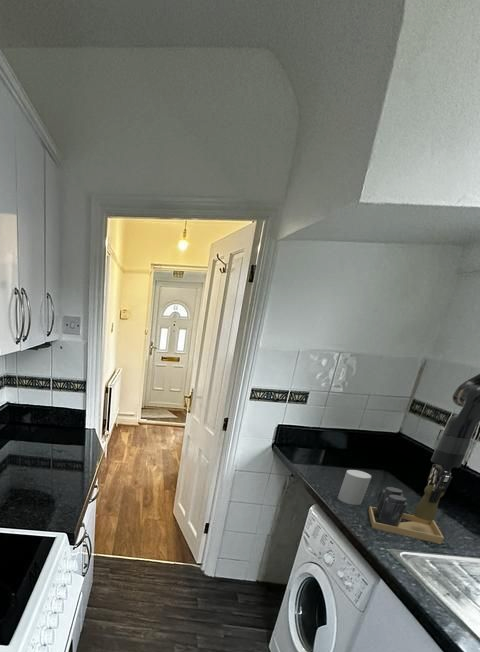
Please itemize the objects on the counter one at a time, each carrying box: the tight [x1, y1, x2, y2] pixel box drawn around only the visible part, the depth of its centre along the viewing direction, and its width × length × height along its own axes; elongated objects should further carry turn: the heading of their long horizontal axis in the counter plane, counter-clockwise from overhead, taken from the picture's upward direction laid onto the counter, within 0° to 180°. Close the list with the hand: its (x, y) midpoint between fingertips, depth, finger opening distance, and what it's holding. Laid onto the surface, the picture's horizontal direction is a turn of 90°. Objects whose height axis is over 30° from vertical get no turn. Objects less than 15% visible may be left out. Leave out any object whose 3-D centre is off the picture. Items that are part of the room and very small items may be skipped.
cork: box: [411, 484, 445, 521], centre depth 136 cm, size 6×6×11 cm
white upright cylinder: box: [337, 469, 372, 506], centre depth 157 cm, size 8×8×12 cm
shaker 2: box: [376, 495, 408, 527], centre depth 138 cm, size 6×6×11 cm
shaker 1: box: [373, 486, 404, 519], centre depth 145 cm, size 6×6×11 cm
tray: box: [367, 506, 445, 545], centre depth 141 cm, size 19×15×3 cm
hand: (430, 499), depth 135 cm, fingers closed on cork, 5 cm apart
